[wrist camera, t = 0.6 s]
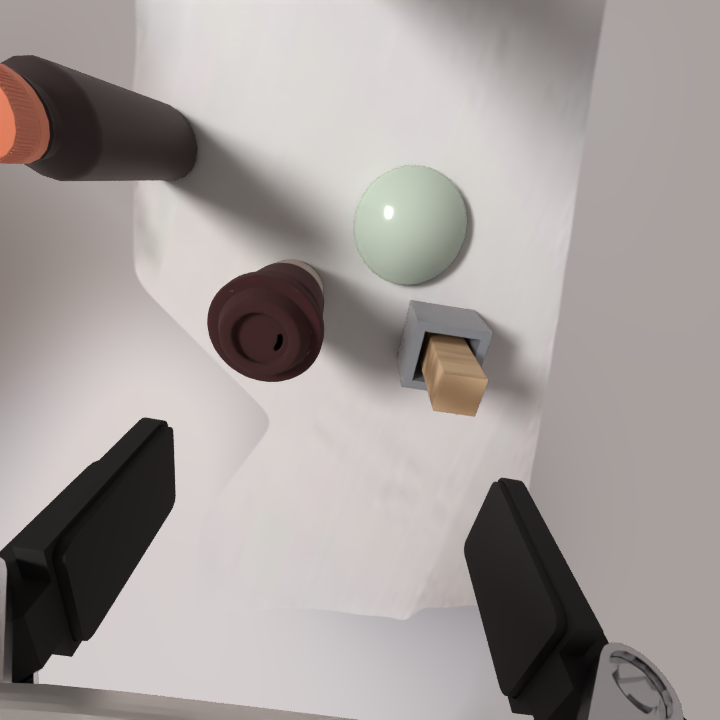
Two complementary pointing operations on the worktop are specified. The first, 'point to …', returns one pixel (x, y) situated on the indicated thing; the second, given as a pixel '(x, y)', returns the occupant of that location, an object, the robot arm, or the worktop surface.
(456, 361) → the oak peg
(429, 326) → the gray open square box
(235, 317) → the coffee cup
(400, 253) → the mint green dome
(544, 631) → the robot arm
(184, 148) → the bottle
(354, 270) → the worktop surface
